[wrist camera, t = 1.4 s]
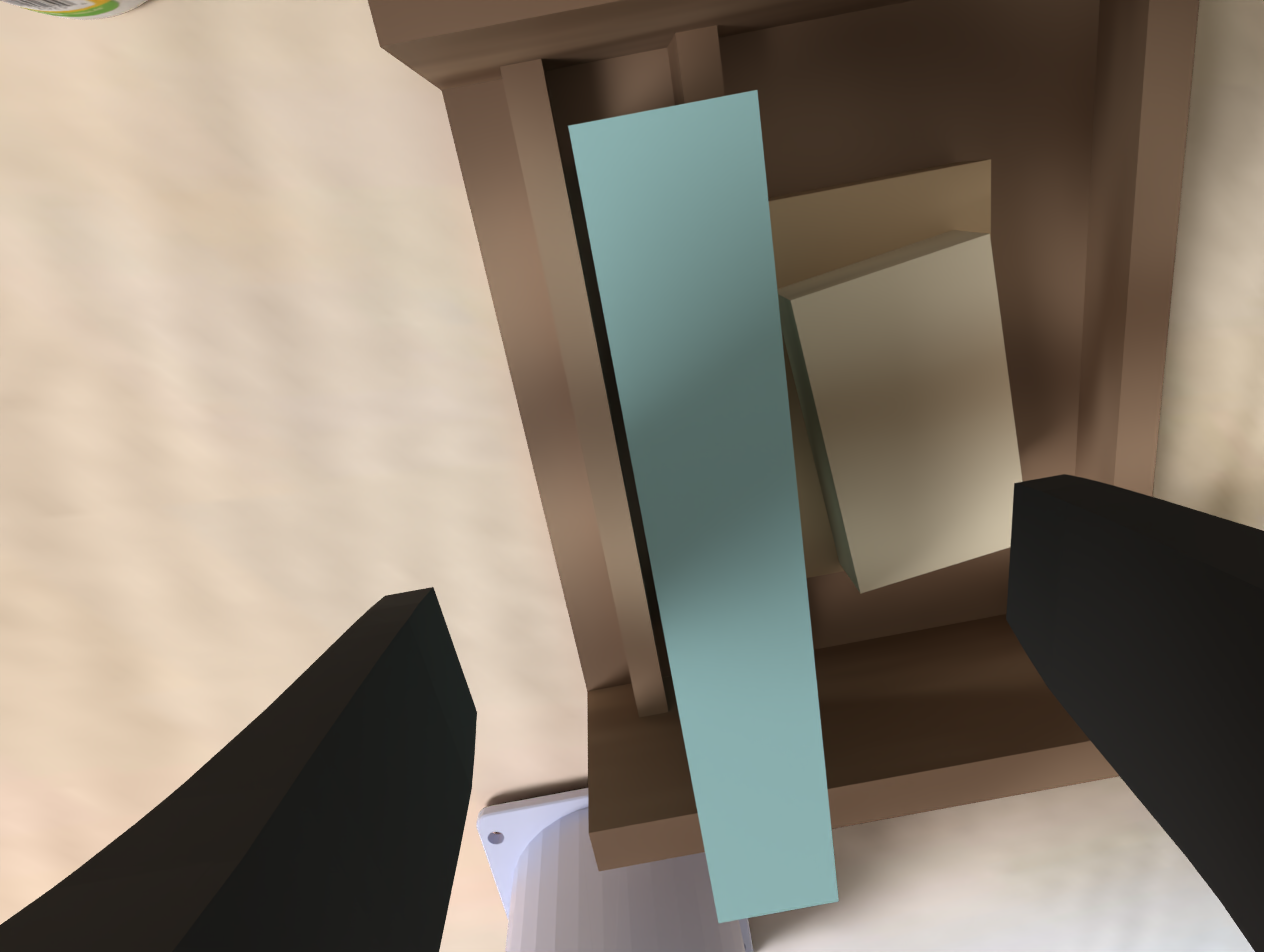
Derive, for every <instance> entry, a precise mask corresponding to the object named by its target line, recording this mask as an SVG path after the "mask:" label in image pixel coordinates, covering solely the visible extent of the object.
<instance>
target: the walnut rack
mask: <svg viewBox="0 0 1264 952" xmlns="http://www.w3.org/2000/svg"><path fill="white" fill-rule="evenodd" d="M368 3H369V6H370V10H371V14H372V18H373V22H374V25H375V29H376V33H377V37H378V40H379V44H380V47H381V48H383V49H384V50H386V51H387V52H388V53H390V54H391V55H393V56H394V57H395V58H397V59H398V60H400V61H401V62H402V63H404V64H405V65H407V66H408V67H409V68H411V69H412V70H414V71H415V72H417V73H418V74H419V75H421V76H422V77H424V78H425V79H426V80H428V81H429V82H431V83H432V84H433V85H435V86H436V87H438V88H439V89H440V90H442V93H443V97H444V102H445V106H446V110H447V114H448V118H449V122H450V126H451V130H452V135H453V139H454V143H455V147H456V151H457V155H458V159H459V163H460V168H461V172H462V176H463V180H464V184H465V188H466V192H467V196H468V201H469V205H470V209H471V213H472V217H473V221H474V225H475V229H476V234H477V238H478V242H479V246H480V250H481V254H482V258H483V262H484V267H485V271H486V275H487V279H488V283H489V287H490V291H491V295H492V300H493V304H494V308H495V312H496V316H497V320H498V324H499V328H500V333H501V337H502V341H503V345H504V349H505V353H506V357H507V361H508V366H509V370H510V374H511V378H512V382H513V386H514V390H515V394H516V399H517V403H518V407H519V411H520V415H521V419H522V423H523V427H524V432H525V436H526V440H527V444H528V448H529V452H530V456H531V460H532V465H533V469H534V473H535V477H536V481H537V485H538V489H539V493H540V498H541V502H542V506H543V510H544V514H545V518H546V522H547V526H548V531H549V535H550V539H551V543H552V547H553V551H554V555H555V559H556V564H557V568H558V572H559V576H560V580H561V584H562V588H563V592H564V597H565V601H566V605H567V609H568V613H569V617H570V621H571V625H572V630H573V634H574V638H575V642H576V646H577V650H578V654H579V658H580V663H581V667H582V671H583V675H584V679H585V683H586V687H587V691H588V823H589V837H590V840H591V844H592V848H593V852H594V856H595V859H596V863H597V867H598V871H605V870H610V869H616V868H621V867H627V866H632V865H637V864H643V863H648V862H654V861H659V860H665V859H670V858H676V857H681V856H687V855H692V854H697V853H703V852H705V849H704V844H703V838H702V833H701V828H700V823H699V817H698V812H697V807H696V801H695V796H694V791H693V785H692V780H691V775H690V769H689V764H688V759H687V754H686V748H685V743H684V738H683V732H682V727H681V722H680V716H679V711H678V706H677V701H676V695H675V690H674V685H673V679H672V674H671V669H670V663H669V658H668V653H667V647H666V642H665V637H664V632H663V626H662V621H661V616H660V610H659V605H658V600H657V594H656V589H655V584H654V579H653V573H652V568H651V563H650V557H649V552H648V547H647V541H646V536H645V531H644V526H643V520H642V515H641V510H640V504H639V499H638V494H637V488H636V483H635V478H634V472H633V467H632V462H631V457H630V451H629V446H628V441H627V435H626V430H625V425H624V419H623V414H622V409H621V404H620V398H619V393H618V388H617V382H616V377H615V372H614V366H613V361H612V356H611V350H610V345H609V340H608V335H607V329H606V324H605V319H604V313H603V308H602V303H601V297H600V292H599V287H598V282H597V276H596V271H595V266H594V260H593V255H592V250H591V244H590V239H589V234H588V228H587V223H586V218H585V213H584V207H583V202H582V197H581V191H580V186H579V181H578V175H577V170H576V165H575V160H574V154H573V149H572V144H571V138H570V133H569V128H568V126H570V125H575V124H581V123H586V122H591V121H596V120H602V119H607V118H612V117H617V116H623V115H628V114H633V113H638V112H644V111H649V110H654V109H659V108H665V107H670V106H675V105H680V104H686V103H691V102H696V101H701V100H707V99H712V98H717V97H722V96H728V95H733V94H738V93H743V92H749V91H754V90H757V91H758V101H759V111H760V121H761V131H762V141H763V151H764V161H765V171H766V181H767V191H768V198H770V197H775V196H780V195H786V194H791V193H796V192H801V191H807V190H812V189H817V188H823V187H828V186H833V185H838V184H844V183H849V182H854V181H860V180H865V179H870V178H875V177H881V176H886V175H891V174H897V173H902V172H907V171H912V170H918V169H923V168H928V167H934V166H939V165H944V164H949V163H955V162H964V161H977V160H990V159H991V247H992V255H993V262H994V270H995V278H996V285H997V293H998V300H999V308H1000V315H1001V323H1002V330H1003V338H1004V345H1005V353H1006V361H1007V368H1008V376H1009V383H1010V391H1011V398H1012V406H1013V413H1014V421H1015V428H1016V436H1017V444H1018V451H1019V459H1020V466H1021V474H1022V481H1029V480H1034V479H1040V478H1045V477H1051V476H1057V475H1062V474H1067V475H1072V476H1077V477H1082V478H1086V479H1090V480H1095V481H1099V482H1102V483H1106V484H1110V485H1113V486H1117V487H1120V488H1124V489H1127V490H1131V491H1134V492H1138V493H1141V494H1144V495H1148V496H1151V497H1152V494H1153V484H1154V473H1155V463H1156V452H1157V441H1158V431H1159V420H1160V410H1161V399H1162V389H1163V378H1164V368H1165V357H1166V347H1167V336H1168V326H1169V315H1170V305H1171V294H1172V284H1173V273H1174V263H1175V252H1176V242H1177V231H1178V221H1179V210H1180V199H1181V189H1182V178H1183V168H1184V157H1185V147H1186V136H1187V126H1188V115H1189V105H1190V94H1191V84H1192V73H1193V63H1194V52H1195V42H1196V31H1197V21H1198V10H1199V0H368ZM1009 562H1010V547H1009V548H1006V549H1003V550H999V551H996V552H993V553H990V554H987V555H983V556H980V557H977V558H974V559H970V560H967V561H964V562H961V563H958V564H954V565H951V566H948V567H945V568H941V569H938V570H935V571H932V572H929V573H925V574H922V575H919V576H916V577H912V578H909V579H906V580H903V581H899V582H896V583H893V584H890V585H887V586H883V587H880V588H877V589H874V590H870V591H867V592H864V593H861V594H860V592H859V591H858V589H857V588H856V586H855V585H854V583H853V582H852V581H851V579H850V578H849V576H848V575H847V573H846V572H845V571H842V572H837V573H831V574H826V575H821V576H815V577H810V578H806V580H807V590H808V600H809V610H810V620H811V630H812V640H813V650H814V660H815V670H816V680H817V690H818V700H819V710H820V720H821V730H822V740H823V750H824V760H825V770H826V780H827V790H828V800H829V810H830V819H831V829H834V828H839V827H845V826H850V825H856V824H861V823H867V822H872V821H877V820H883V819H888V818H894V817H899V816H905V815H910V814H916V813H921V812H926V811H932V810H937V809H943V808H948V807H954V806H959V805H965V804H970V803H976V802H981V801H986V800H992V799H997V798H1003V797H1008V796H1014V795H1019V794H1025V793H1030V792H1036V791H1041V790H1046V789H1052V788H1057V787H1063V786H1068V785H1074V784H1079V783H1085V782H1090V781H1096V780H1101V779H1106V778H1112V777H1117V776H1119V775H1118V773H1117V772H1116V771H1115V770H1114V769H1113V767H1112V766H1111V765H1110V764H1109V763H1108V761H1107V760H1106V759H1105V758H1104V757H1103V755H1102V754H1101V753H1100V752H1099V750H1098V749H1097V748H1096V747H1095V746H1094V744H1093V743H1092V742H1091V741H1090V740H1089V738H1088V737H1087V736H1086V735H1085V733H1084V732H1083V731H1082V730H1081V728H1080V727H1079V726H1078V725H1077V723H1076V722H1075V721H1074V720H1073V719H1072V717H1071V716H1070V715H1069V714H1068V712H1067V711H1066V710H1065V709H1064V707H1063V706H1062V705H1061V704H1060V702H1059V701H1058V700H1057V699H1056V697H1055V696H1054V695H1053V694H1052V692H1051V691H1050V690H1049V688H1048V687H1047V685H1046V684H1045V682H1044V681H1043V679H1042V678H1041V676H1040V674H1039V673H1038V671H1037V670H1036V668H1035V667H1034V665H1033V664H1032V662H1031V660H1030V659H1029V657H1028V656H1027V654H1026V652H1025V651H1024V649H1023V647H1022V646H1021V644H1020V642H1019V640H1018V639H1017V637H1016V635H1015V634H1014V632H1013V630H1012V629H1011V627H1010V625H1009V624H1008V622H1007V620H1006V612H1007V596H1008V579H1009Z"/></svg>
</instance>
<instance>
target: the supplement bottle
mask: <svg viewBox="0 0 1264 952" xmlns="http://www.w3.org/2000/svg"><path fill="white" fill-rule="evenodd" d="M0 1H3V2H6V3H9V4H11V5H15V6H18V7H21V8H25V9H28V10H32V11H35V12H39V13H44V14H47V15H51V16H56V17H61V18H68V19H78V20H91V19H103V18H108V17H113V16H117V15H120V14H123V13H126V12H128V11H130V10H132V9H134V8H136V7H138V6H140V5H141V4H143V3H144V2H146V1H147V0H0Z"/></svg>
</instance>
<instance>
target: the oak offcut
mask: <svg viewBox="0 0 1264 952" xmlns="http://www.w3.org/2000/svg"><path fill="white" fill-rule="evenodd" d="M768 201H769V211H770V221H771V231H772V241H773V251H774V261H775V271H776V281H777V289H780V288H783V287H785V286H788V285H791V284H794V283H797V282H800V281H803V280H806V279H809V278H812V277H815V276H818V275H821V274H824V273H827V272H830V271H833V270H836V269H839V268H842V267H845V266H848V265H851V264H854V263H857V262H860V261H863V260H866V259H869V258H871V257H874V256H877V255H880V254H883V253H886V252H889V251H892V250H895V249H898V248H901V247H904V246H907V245H910V244H913V243H916V242H919V241H922V240H925V239H928V238H931V237H934V236H937V235H940V234H943V233H946V232H949V231H952V230H959V231H969V232H978V233H988V234H990V240H991V159H990V160H977V161H964V162H955V163H949V164H944V165H939V166H934V167H928V168H923V169H918V170H912V171H907V172H902V173H897V174H891V175H886V176H881V177H875V178H870V179H865V180H860V181H854V182H849V183H844V184H838V185H833V186H828V187H823V188H817V189H812V190H807V191H801V192H796V193H791V194H786V195H780V196H775V197H770V198H768ZM781 331H782V328H781ZM782 341H783V351H784V361H785V371H786V381H787V391H788V401H789V411H790V420H791V430H792V440H793V450H794V460H795V470H796V480H797V490H798V500H799V510H800V520H801V530H802V540H803V550H804V560H805V570H806V578H810V577H815V576H821V575H826V574H831V573H837V572H842V571H845V570H844V569H843V567H842V566H841V565H840V563H839V559H838V555H837V551H836V547H835V543H834V539H833V535H832V531H831V527H830V523H829V519H828V515H827V511H826V507H825V502H824V498H823V494H822V490H821V486H820V482H819V478H818V474H817V470H816V466H815V462H814V458H813V454H812V450H811V446H810V442H809V438H808V434H807V429H806V425H805V421H804V417H803V413H802V409H801V405H800V401H799V397H798V393H797V389H796V385H795V381H794V377H793V373H792V369H791V365H790V361H789V356H788V352H787V348H786V344H785V340H784V336H783V332H782Z"/></svg>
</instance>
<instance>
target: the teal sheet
mask: <svg viewBox="0 0 1264 952" xmlns="http://www.w3.org/2000/svg"><path fill="white" fill-rule="evenodd" d="M568 128H569V133H570V138H571V144H572V149H573V154H574V160H575V165H576V170H577V175H578V181H579V186H580V191H581V197H582V202H583V207H584V213H585V218H586V223H587V228H588V234H589V239H590V244H591V250H592V255H593V260H594V266H595V271H596V276H597V282H598V287H599V292H600V297H601V303H602V308H603V313H604V319H605V324H606V329H607V335H608V340H609V345H610V350H611V356H612V361H613V366H614V372H615V377H616V382H617V388H618V393H619V398H620V404H621V409H622V414H623V419H624V425H625V430H626V435H627V441H628V446H629V451H630V457H631V462H632V467H633V472H634V478H635V483H636V488H637V494H638V499H639V504H640V510H641V515H642V520H643V526H644V531H645V536H646V541H647V547H648V552H649V557H650V563H651V568H652V573H653V579H654V584H655V589H656V594H657V600H658V605H659V610H660V616H661V621H662V626H663V632H664V637H665V642H666V647H667V653H668V658H669V663H670V669H671V674H672V679H673V685H674V690H675V695H676V701H677V706H678V711H679V716H680V722H681V727H682V732H683V738H684V743H685V748H686V754H687V759H688V764H689V769H690V775H691V780H692V785H693V791H694V796H695V801H696V807H697V812H698V817H699V823H700V828H701V833H702V838H703V844H704V849H705V854H706V860H707V865H708V870H709V876H710V881H711V886H712V891H713V897H714V902H715V907H716V913H717V918H718V923H723V922H729V921H734V920H740V919H745V918H751V917H756V916H762V915H767V914H773V913H778V912H783V911H789V910H794V909H800V908H805V907H811V906H816V905H822V904H827V903H833V902H838V901H839V899H838V889H837V879H836V869H835V859H834V849H833V839H832V829H831V819H830V810H829V800H828V790H827V780H826V770H825V760H824V750H823V740H822V730H821V720H820V710H819V700H818V690H817V680H816V670H815V660H814V650H813V640H812V630H811V620H810V610H809V600H808V590H807V580H806V570H805V560H804V550H803V540H802V530H801V520H800V510H799V500H798V490H797V480H796V470H795V460H794V450H793V440H792V430H791V420H790V411H789V401H788V391H787V381H786V371H785V361H784V351H783V341H782V331H781V321H780V311H779V301H778V291H777V281H776V271H775V261H774V251H773V241H772V231H771V221H770V211H769V201H768V191H767V181H766V171H765V161H764V151H763V141H762V131H761V121H760V111H759V101H758V91H757V90H754V91H749V92H743V93H738V94H733V95H728V96H722V97H717V98H712V99H707V100H701V101H696V102H691V103H686V104H680V105H675V106H670V107H665V108H659V109H654V110H649V111H644V112H638V113H633V114H628V115H623V116H617V117H612V118H607V119H602V120H596V121H591V122H586V123H581V124H575V125H570V126H568Z"/></svg>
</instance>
